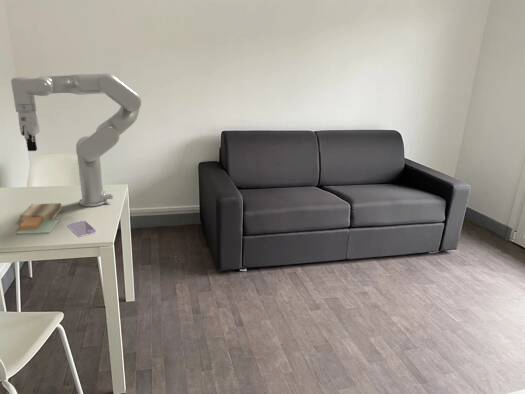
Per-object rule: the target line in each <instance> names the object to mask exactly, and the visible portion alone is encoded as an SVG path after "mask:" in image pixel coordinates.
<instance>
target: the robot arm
mask: <svg viewBox="0 0 525 394" xmlns="http://www.w3.org/2000/svg"><path fill="white" fill-rule="evenodd" d="M10 80H11V81H10V82H11V88H12V89H11V90H12V95H13V96H12V97H13V101H14V106H15V107H14V109H15V112H16V113H17V116H18V117H17V118H18V126H19V130H20V131H19V132H20V134H21V136H22V137H24V139H25V142H26V148H27V152H36V151H37V150H38V146H37V142H36V141H37V140H36V135H38V134H39V133H40V131H41V129H40V126H39V120H38V116H37V108H36V106H37V105H36V99H35V96H37V97H47V96H49V95H52V94H74V95H80V96H81V95H83V96H84V95H85V96H86V95H99V94H100V95H101V94H105V95H106V96H107V97H108V98H110V99H111V100H112V101H113V102H115V103H116V104H117V105H119V106H120V108H119V109H118V111H116V112H115V113H114V114H113V115H112V116H111V117H109V118H108V119H107V120H105V121H104V122H102V123H100V124H99V125H98V126H97V128H96V130H95V132H93V133H92V134H90V135H89V136H87V135H86V136H82V137H80V138H79V139H78V140H77V142H76V144H75V151H76V156H77V165H78V174H79V183H80V191H81V192H80V193H81V198H80V199H79V200H78V204H79V206H82V207H87V208H89V207H99V206H103V205H104V204H106V203H108V200H113V199H114V195H112V193H108V194H107V193H106V192H105V190H104V188H103V187H104V185H103V175H102V166H101V157H103V155H105V154H106V153H107V152H109V150H111V149H112V148H114V146H116V145H117V143H118V142H119V141H120V136H121V135H122V134H123V133H124V132H125V131H126V130H128V129H129V128H130V127H132V125H133V124H134V123H135V122H136V120H137V118H138V116H139V113H140V108H141V106H142V98H141V97H140V95H139V94H138V93H136V92H135V91H133V90H132V89H131V88H130V87H128V86H127V85H126V84H124V83H123V82H122V81H121V80H119V79H118V78H117V77H116V76H115V75H113V74H111V73H88V74H87V73H86V74H82V73H81V74H69V75H42V76H39V77H36V78H35V77H33V78H29V77H21V76H19V77H12V78H11V79H10Z"/></svg>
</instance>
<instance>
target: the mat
mask: <svg viewBox="0 0 525 394" xmlns="http://www.w3.org/2000/svg"><path fill="white" fill-rule="evenodd" d="M59 222H60V219H59V220H58V219H57V220H56V219H53V220H48V221H43V222H42V223H41V224H40V225H39V227H38V228H37V229H33V230H20V229H19V230H18V231H17V232H16V235H35V234H50V233H52V231H53V230H54V228H55V227H56V226H57V225H58V223H59Z"/></svg>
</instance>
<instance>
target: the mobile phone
mask: <svg viewBox="0 0 525 394" xmlns="http://www.w3.org/2000/svg"><path fill="white" fill-rule="evenodd" d="M67 228H69V230H71V231H72V232H73V234H75V235H76V236H77V237H78V238H81V237H86V236H90V235H94V234H97V233H98V231H97V230H96V229H95V228H94V227H93V226H92V225H91V224H90V223H88V221H86V220H80V221H76V222H71V223H68V224H67Z"/></svg>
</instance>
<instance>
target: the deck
mask: <svg viewBox="0 0 525 394" xmlns="http://www.w3.org/2000/svg"><path fill="white" fill-rule="evenodd" d="M61 211H62V203H61V202H60V203H58V202H57V203H31V204H30V205H29V206H28V207H27V208H26V209H25V210H23V211H22V213H21V214H19V217H20V223H22V222H23V221H24V220H25V219H26V218H27V217H43V221H48V220H55V218H56V217H57V216H58V215H59V214H60V212H61Z"/></svg>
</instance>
